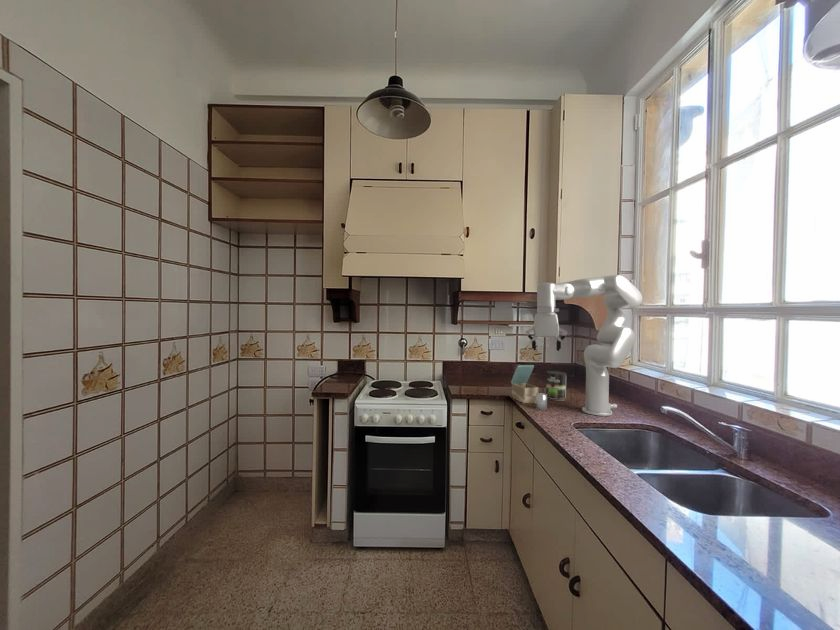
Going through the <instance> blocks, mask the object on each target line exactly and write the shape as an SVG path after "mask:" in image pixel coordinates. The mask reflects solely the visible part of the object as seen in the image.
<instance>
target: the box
mask: <svg viewBox="0 0 840 630" xmlns="http://www.w3.org/2000/svg"><path fill="white" fill-rule="evenodd" d="M536 393H540V387H539V386H536V385H533V384H531V383H528V382H527V383H513V384H511V398H512V397H514V398H515V399H517V400H519V401H521V402H523V403H535V404H536Z"/></svg>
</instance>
